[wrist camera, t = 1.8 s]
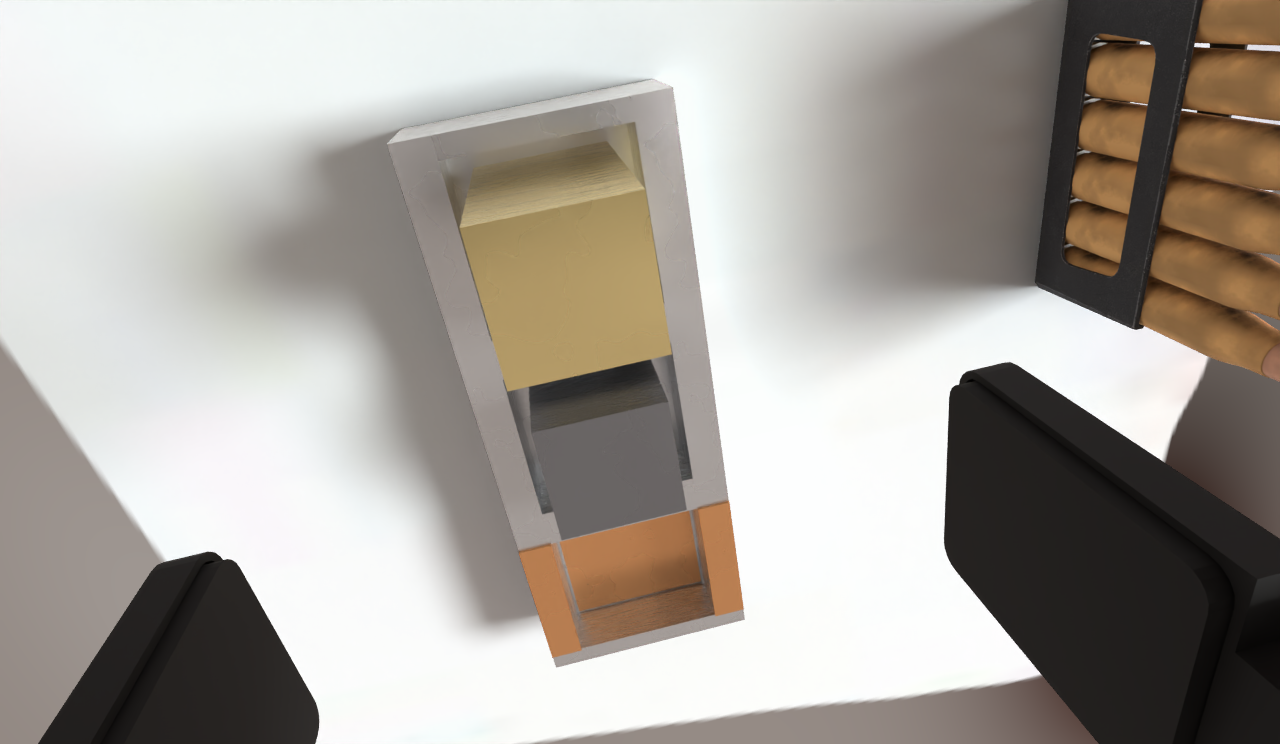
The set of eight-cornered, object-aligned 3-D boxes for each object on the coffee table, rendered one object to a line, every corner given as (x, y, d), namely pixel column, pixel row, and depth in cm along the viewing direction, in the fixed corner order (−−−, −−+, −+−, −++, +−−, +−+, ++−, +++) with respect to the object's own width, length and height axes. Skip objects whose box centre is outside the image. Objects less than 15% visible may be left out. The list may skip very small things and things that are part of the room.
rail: (401, 128, 22) (385, 144, 19) (653, 78, 22) (673, 87, 20) (552, 613, 32) (556, 669, 29) (725, 570, 32) (745, 621, 29)
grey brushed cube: (527, 366, 25) (531, 433, 21) (643, 341, 25) (668, 401, 21) (553, 463, 27) (561, 540, 23) (661, 438, 27) (686, 510, 23)
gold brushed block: (473, 167, 22) (459, 227, 16) (606, 141, 22) (644, 189, 16) (507, 294, 24) (507, 391, 18) (629, 267, 24) (672, 354, 18)
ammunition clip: (1077, 277, 28) (1414, 432, 18) (1034, 286, 28) (1348, 448, 18) (1122, -25, 23) (1626, -60, 13) (1069, -16, 23) (1536, -43, 13)
